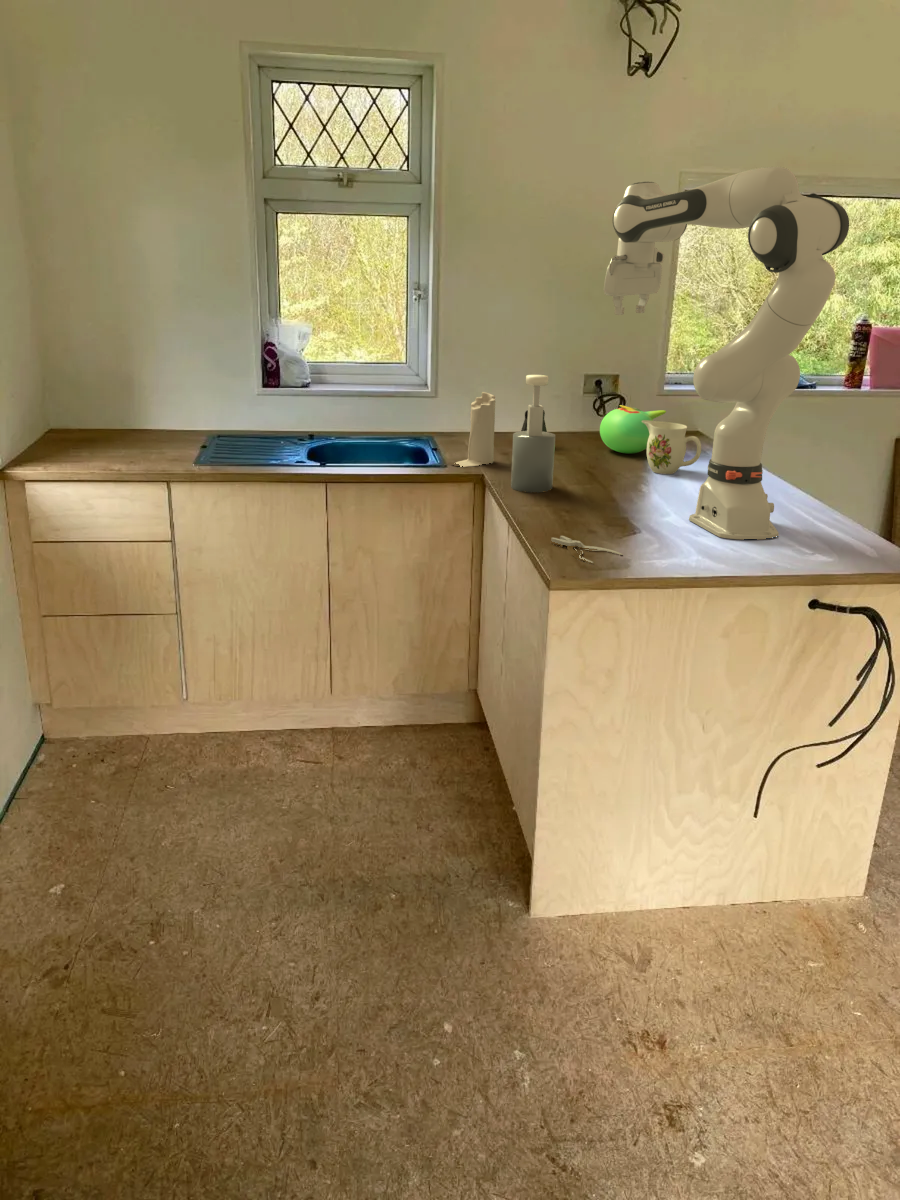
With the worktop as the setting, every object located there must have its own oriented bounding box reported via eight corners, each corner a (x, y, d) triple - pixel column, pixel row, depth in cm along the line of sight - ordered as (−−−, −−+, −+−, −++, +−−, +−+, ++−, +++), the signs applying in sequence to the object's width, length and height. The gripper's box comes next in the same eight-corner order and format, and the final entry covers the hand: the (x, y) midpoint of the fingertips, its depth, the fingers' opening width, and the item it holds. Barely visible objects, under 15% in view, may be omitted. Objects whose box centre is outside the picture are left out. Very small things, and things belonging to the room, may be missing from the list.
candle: (446, 464, 270) (447, 394, 263) (482, 458, 278) (484, 390, 271) (462, 468, 265) (464, 398, 258) (498, 462, 273) (500, 393, 266)
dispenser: (555, 492, 242) (560, 409, 234) (514, 492, 241) (517, 409, 233) (548, 482, 252) (552, 402, 244) (508, 482, 251) (511, 402, 244)
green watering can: (588, 449, 293) (591, 402, 288) (630, 444, 301) (634, 398, 295) (622, 460, 278) (627, 411, 273) (667, 455, 286) (672, 408, 280)
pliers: (591, 558, 188) (540, 540, 199) (590, 566, 189) (539, 547, 200) (623, 549, 194) (572, 532, 205) (623, 557, 195) (571, 539, 206)
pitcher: (691, 480, 257) (697, 430, 252) (630, 471, 266) (634, 423, 261) (703, 472, 266) (709, 424, 261) (644, 464, 275) (648, 417, 270)
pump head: (548, 413, 237) (550, 377, 234) (526, 413, 237) (528, 377, 233) (544, 409, 242) (546, 374, 239) (523, 409, 242) (524, 374, 239)
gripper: (622, 256, 218) (616, 317, 223) (668, 255, 231) (662, 312, 237) (600, 254, 221) (595, 315, 227) (646, 254, 235) (640, 310, 241)
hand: (629, 313), depth 232 cm, fingers open, 8 cm apart
